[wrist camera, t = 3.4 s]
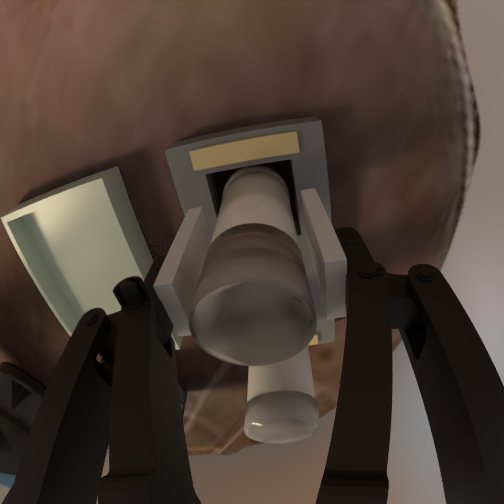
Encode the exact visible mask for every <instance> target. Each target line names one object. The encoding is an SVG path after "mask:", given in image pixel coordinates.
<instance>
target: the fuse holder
mask: <svg viewBox="0 0 504 504" xmlns="http://www.w3.org/2000/svg"><path fill="white" fill-rule="evenodd" d="M164 151H165V154H166V158H167V161H168V165H169V168H170V172H171V175H172V178H173V182H174V185H175V188H176V192H177V195H178V198H179V201H180V204H181V208H182V211H183V214H184V217H185V216H186V214H187V212H188V210H189V209H192V208H198V207H202V208H203V212H204V215H205V219H206V222H207V226H208V229H209V233H210V236H211V239H212V236H213V232H214V228H215V225H216V221H217V218H218V214H219V210H220V207H221V202H220V198H219V194H218V190H217V186H216V182H215V178H214V174H213V173H214V172H219V171H224V170H229V169H235V168H240V167H246V166H251V165H257V164H263V163H269V162H276V161H282V160H289V161H290V168H291V174H292V181H293V188H294V195H295V202H296V210H297V217H298V220H293V221H294V225H295V230H296V234H297V239H298V244H299V248H300V250H301V253H302V257H303V261H304V266H305V271H306V276H307V278H308V281H309V283H310V288H311V293H312V298H313V303H314V308H315V313H316V319H317V327H316V332H315V334H314V337H313V339H312V340H311V342H310V343H309V344H308V346H309V345H316V344H322V343H328V342H334V341H335V319H329V320H327V317H326V313H325V308H324V304H323V300H322V296H321V291H320V287H319V283H318V279H317V275H316V271H315V267H314V263H313V259H312V255H311V251H310V248H309V244H308V240H307V236H306V229H305V220H304V212H303V204H302V196H301V190H306V189H313V188H315V189H316V191H317V193H318V196H319V198H320V200H321V202H322V204H323V206H324V208H325V211H326V213H327V215H328V217H329V219H330V222H331V224H332V218H331V204H330V192H329V181H328V171H327V161H326V152H325V143H324V135H323V127H322V121H321V120H320V119H318V118H316V117H315V116H312V117H304V118H296V119H288V120H281V121H275V122H268V123H262V124H256V125H250V126H245V127H240V128H234V129H229V130H224V131H220V132H215V133H210V134H206V135H202V136H197V137H193V138H189V139H185V140H181V141H177V142H174V143H173V144H171V145H170V146H169V147H168V148H166V149H165V150H164Z"/></svg>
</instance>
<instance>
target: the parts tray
mask: <svg viewBox="0 0 504 504" xmlns="http://www.w3.org/2000/svg"><path fill="white" fill-rule="evenodd" d="M1 219H2V222H3V224H4V226H5V228H6V230H7V232H8V234H9V237H10V239H11V241H12V243H13V245H14V247H15V249H16V251H17V252H18V254H19V256H20V258H21V260H22V262H23V264H24V265H25V267H26V269H27V271H28V273H29V274H30V276H31V278H32V279H33V281H34V283H35V285H36V286H37V288H38V289H39V291H40V293H41V294H42V296H43V297H44V299H45V301H46V302H47V304H48V305H49V307H50V308H51V310H52V311H53V313H54V314H55V316H56V317H57V319H58V320H59V321H60V323H61V324H62V326H63V327H64V328H65V330H66V331H67V333H68V334H69V335H70V337H71V335H72V333H73V332H74V330H75V328H76V326H77V324H78V322H79V320H80V318H81V317H82V316H83V315H84V314H85V313H86V312H87V311H89V310H90V309H93V308H102V309H103V310H104V311H105V312H106V314H107V315H109V314H112V313H115V312H118V311H121V306H120V304H119V302H118V300H117V299H116V297H115V295H114V293H113V289H114V287H115V286H116V285H117V284H118V283H119V282H120V281H122V280H123V279H125V278H128V277H131V276H139V277H141V278H142V279H143V281H144V280H145V278H146V275H147V273H148V272H149V269H150V267H151V265H152V263H153V262H154V261H153V258H152V256H151V254H150V251H149V249H148V246H147V244H146V241H145V239H144V236H143V234H142V231H141V229H140V226H139V224H138V221H137V218H136V216H135V213H134V210H133V208H132V205H131V202H130V200H129V197H128V194H127V191H126V188H125V185H124V183H123V180H122V177H121V174H120V171H119V168H118V166H116V167H113V168H110V169H107V170H104V171H101V172H98V173H95V174H93V175H90V176H87V177H84V178H81V179H79V180H76V181H73V182H71V183H68V184H65V185H63V186H60V187H58V188H55V189H53V190H50V191H48V192H46V193H43V194H41V195H38V196H36V197H34V198H32V199H29V200H27V201H25V202H23V203H20V204H18V205H16V206H15V207H14V208H13V209H11V210H10V211H9V212H7V213H6V214H5V215H4V216H2V217H1ZM171 336H172V338H173V339H174V342H175V350H179V349H180V347H181V343H182V339H183V336H178V335H177V333H176V331H175V329H174V327H173V330H172V333H171Z"/></svg>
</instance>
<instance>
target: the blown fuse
mask: <svg viewBox="0 0 504 504" xmlns="http://www.w3.org/2000/svg"><path fill="white" fill-rule="evenodd" d="M316 327H317V319H316V313H315V308H314V303H313V298H312V293H311V288H310V283H309V281H308V278H307V276H306V271H305V266H304V261H303V257H302V253H301V250H300V248H299V244H298V239H297V234H296V230H295V225H294V221H293V216H292V212H291V207H290V196H289V192H288V188H287V184H286V181H285V179H284V177H283V175H282V174H281V173H280V172H279V171H278V170H277V169H276V168H274V167H273V166H271V165H269V164H266V163H263V164H257V165H251V166H246V167H240V168H236V169H235V170H234V171H233V172H232V173H231V174H230V175H229V177H228V179H227V181H226V184H225V187H224V190H223V194H222V203H221V207H220V210H219V214H218V218H217V221H216V225H215V228H214V232H213V236H212V240H211V243H210V246H209V248H208V251H207V254H206V257H205V261H204V265H203V269H202V272H201V275H200V277H199V279H198V282H197V286H196V290H195V294H194V297H193V301H192V305H191V309H190V313H189V329H190V332H191V334H192V336H193V338H194V340H195V341H196V342H197V344H198V345H199V346H200V347H201V348H202V349H203V350H205V351H206V352H207V353H209V354H210V355H212V356H214V357H216V358H218V359H220V360H223V361H225V362H228V363H232V364H237V365H243V366H265V365H271V364H276V363H279V362H282V361H285V360H287V359H290V358H292V357H293V356H295V355H297V354H298V353H300V352H301V351H302V350H303V349H305V348H306V347H307V345H308V344H309V343H310V342H311V340H312V339H313V337H314V334H315V332H316Z"/></svg>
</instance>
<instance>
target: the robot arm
mask: <svg viewBox="0 0 504 504" xmlns="http://www.w3.org/2000/svg"><path fill="white" fill-rule="evenodd" d="M301 196H302V204H303V212H304V220H305V229H306V236H307V240H308V244H309V248H310V251H311V255H312V259H313V263H314V267H315V271H316V275H317V279H318V283H319V287H320V291H321V296H322V300H323V304H324V308H325V313H326V317H327V320H329V319H335V318H341V317H346V308H347V311H348V314H347V327H346V338H345V348H344V357H343V365H342V374H341V381H340V389H339V395H338V402H337V408H336V415H335V421H334V426H333V432H332V438H331V442H330V447H329V453H328V457H327V462H326V466H325V471H324V474H323V478H322V481H321V485H320V489H319V493H318V497H317V500H316V504H386V503H387V498H388V489H389V480H388V477H387V462H388V452H389V443H390V430H391V412H392V333H391V329H399V331H400V334H401V337H402V339H403V342H404V345H405V348H406V350H407V353H408V356H409V359H410V362H411V365H412V368H413V371H414V374H415V377H416V380H417V383H418V386H419V389H420V393H421V396H422V399H423V402H424V406H425V410H426V412H427V417H428V421H429V424H430V427H431V432H432V436H433V440H434V444H435V448H436V453H437V457H438V462H439V467H440V472H441V476H442V482H443V487H444V493H445V499H446V503H447V504H504V386H503V384H502V381H501V379H500V377H499V375H498V372H497V370H496V368H495V366H494V364H493V362H492V360H491V358H490V356H489V354H488V352H487V350H486V348H485V346H484V344H483V342H482V340H481V338H480V336H479V335H478V333H477V331H476V329H475V327H474V325H473V324H472V322H471V320H470V318H469V317H468V315H467V313H466V311H465V310H464V308H463V307H462V305H461V303H460V302H459V300H458V298H457V296H456V295H455V293H454V292H453V290H452V289H451V287H450V285H449V284H448V283H447V281H446V279H445V278H444V276H443V275H442V273H441V272H440V271H439V270H438V269H437V268H435V267H434V266H432V265H428V264H417V265H414V266H412V267H411V268H410V269H409V272H408V275H397V274H390V273H387V272H386V270H385V268H384V267H383V266H382V265H381V264H378V263H376V262H374V260H373V258H372V256H371V254H370V252H369V251H368V249H367V247H366V245H365V243H364V241H363V240H362V238H361V236H360V234H359V232H357V231H356V230H354V229H353V228H351V227H347V228H340V229H334V228H333V226H332V224H331V222H330V219H329V217H328V215H327V213H326V211H325V208H324V206H323V204H322V202H321V200H320V198H319V196H318V193H317V191H316V189H315V188H313V189H306V190H301ZM211 240H212V239H211V236H210V233H209V229H208V226H207V222H206V219H205V215H204V212H203V208H202V207H198V208H192V209H189V210H188V212H187V214H186V216H185V218H184V220H183V222H182V224H181V226H180V228H179V230H178V232H177V235H176V237H175V239H174V241H173V243H172V245H171V247H170V249H169V252H168V254H167V256H161V257H158V258H157V259H156V260H155V261H154V262H153V263H152V265H151V267H150V269H149V272H148V273H147V275H146V278H145V280H144V281H143V279H142V278H141V277H139V276H131V277H128V278H125V279H123V280H122V281H120V282H119V283H118V284H117V285H116V286H115V287H114V289H113V293H114V295H115V297H116V299H117V300H118V302H119V304H120V306H121V311H118V312H115V313H112V314H109V315H107V314H106V312H105V311H104V310H103V309H102V308H93V309H90V310H89V311H87V312H86V313H85V314H84V315H83V316H82V317H81V318H80V320H79V322H78V324H77V326H76V328H75V330H74V332H73V333H72V335H71V337H70V339H69V341H68V343H67V345H66V347H65V349H64V351H63V354H62V356H61V358H60V360H59V362H58V364H57V366H56V368H55V371H54V373H53V375H52V377H51V380H50V382H49V384H48V386H47V389H46V388H45V387H43V386H42V385H41V384H40V383H38V382H37V381H36V380H34V379H33V378H31V377H30V376H29V375H27V374H26V373H24V372H22V371H21V370H19V369H17V368H15V367H13V366H11V365H8V364H5V363H1V364H0V486H2V487H5V488H7V489H10V490H9V492H8V494H7V496H6V497H5V499H4V501H3V502H2V504H96V501H97V496H98V504H201V501H200V500H199V498H198V497H197V495H196V493H195V491H194V487H193V481H192V476H191V471H190V466H189V460H188V453H187V446H186V440H185V433H184V426H183V418H182V410H181V402H180V393H179V384H178V374H177V363H176V351H175V342H174V339H173V338H172V336H171V333H172V330H173V327H174V329H175V331H176V333H177V335H178V336H189V335H192V334H191V332H190V329H189V313H190V309H191V305H192V301H193V297H194V294H195V290H196V286H197V282H198V279H199V277H200V275H201V272H202V269H203V265H204V261H205V257H206V254H207V251H208V248H209V246H210V243H211ZM98 353H99V355H100V356H101V357H102V359H101V361H100V363H99V362H98V361H97V360H96V357H97V355H98ZM108 444H109V466H110V467H109V473H108V475H106V476H104V477H102V478H101V475H102V471H103V466H104V462H105V457H106V453H107V449H108Z"/></svg>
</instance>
